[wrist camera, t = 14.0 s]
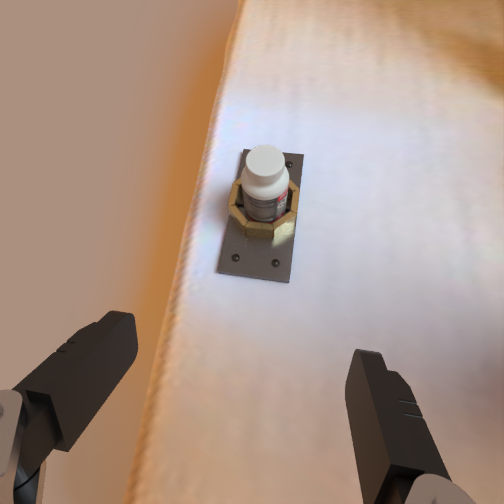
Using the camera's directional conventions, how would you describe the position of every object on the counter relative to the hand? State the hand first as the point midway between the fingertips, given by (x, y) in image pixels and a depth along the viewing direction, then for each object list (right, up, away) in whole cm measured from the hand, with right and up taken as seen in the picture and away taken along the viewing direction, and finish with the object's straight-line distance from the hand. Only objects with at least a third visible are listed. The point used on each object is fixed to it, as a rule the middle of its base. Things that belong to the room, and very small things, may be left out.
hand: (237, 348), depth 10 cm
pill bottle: (+2, +9, +27) cm, 29 cm away
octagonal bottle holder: (+2, +9, +28) cm, 29 cm away
